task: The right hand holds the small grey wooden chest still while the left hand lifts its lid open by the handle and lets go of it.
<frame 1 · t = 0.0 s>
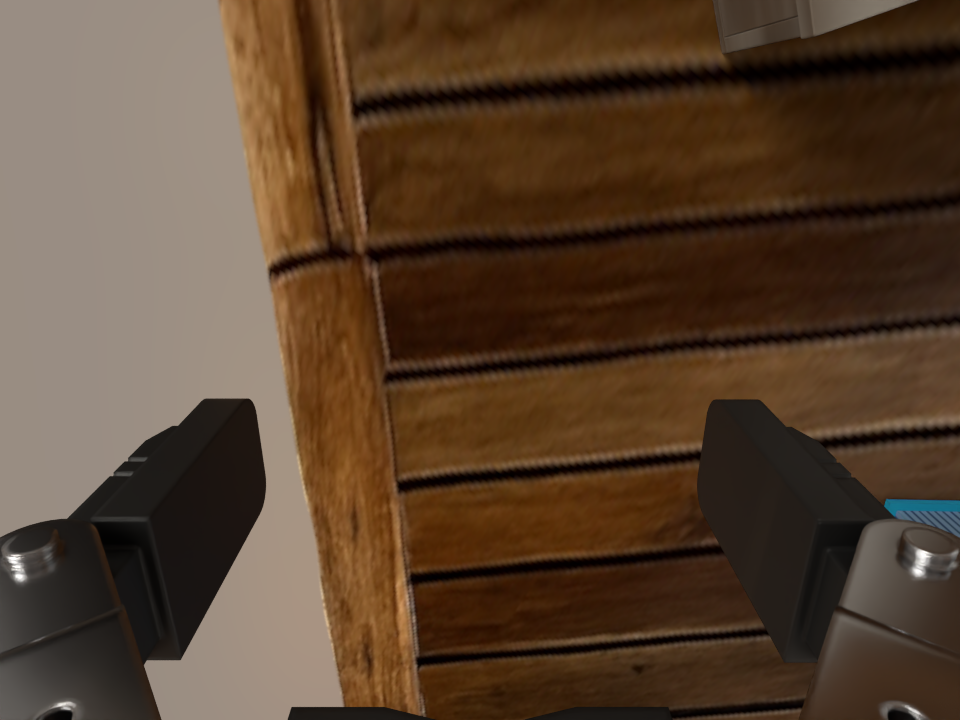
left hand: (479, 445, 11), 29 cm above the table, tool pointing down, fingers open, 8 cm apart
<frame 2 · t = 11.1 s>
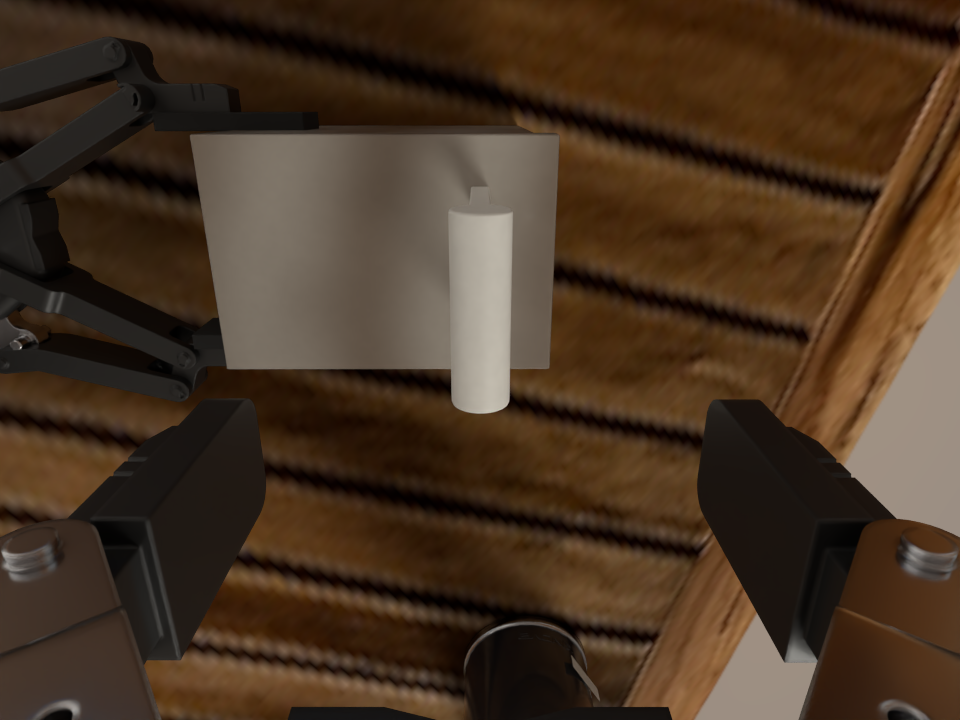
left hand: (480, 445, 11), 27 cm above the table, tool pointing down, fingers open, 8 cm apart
right hand: (321, 233, 31), fingers closed on chest, 9 cm apart
chest: (404, 212, 37), on the table, touching right hand
lid: (368, 280, 22), point 16 cm above the table, hinge at 0.0°
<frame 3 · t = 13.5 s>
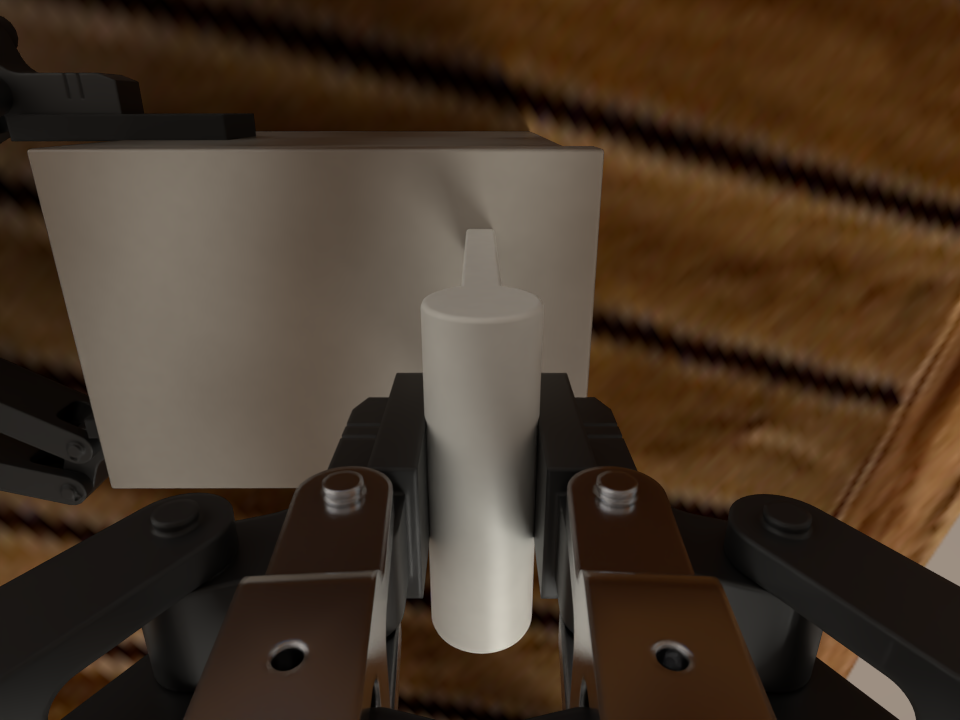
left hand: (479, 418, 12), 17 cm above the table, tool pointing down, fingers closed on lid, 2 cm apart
chest: (382, 244, 28), on the table, touching right hand
lid: (300, 387, 14), point 16 cm above the table, hinge at -0.1°, touching left hand
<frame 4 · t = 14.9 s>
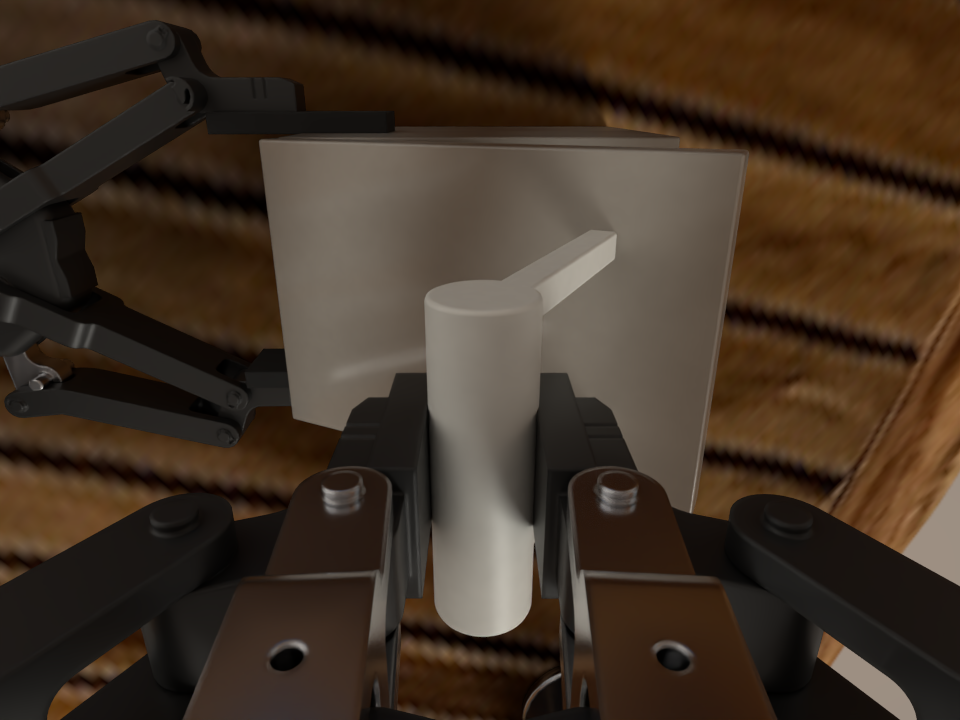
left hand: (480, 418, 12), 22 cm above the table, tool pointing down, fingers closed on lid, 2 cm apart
right hand: (397, 253, 26), fingers closed on chest, 9 cm apart
chest: (475, 225, 32), on the table, touching right hand
lid: (399, 357, 15), point 18 cm above the table, hinge at 27.1°, touching left hand
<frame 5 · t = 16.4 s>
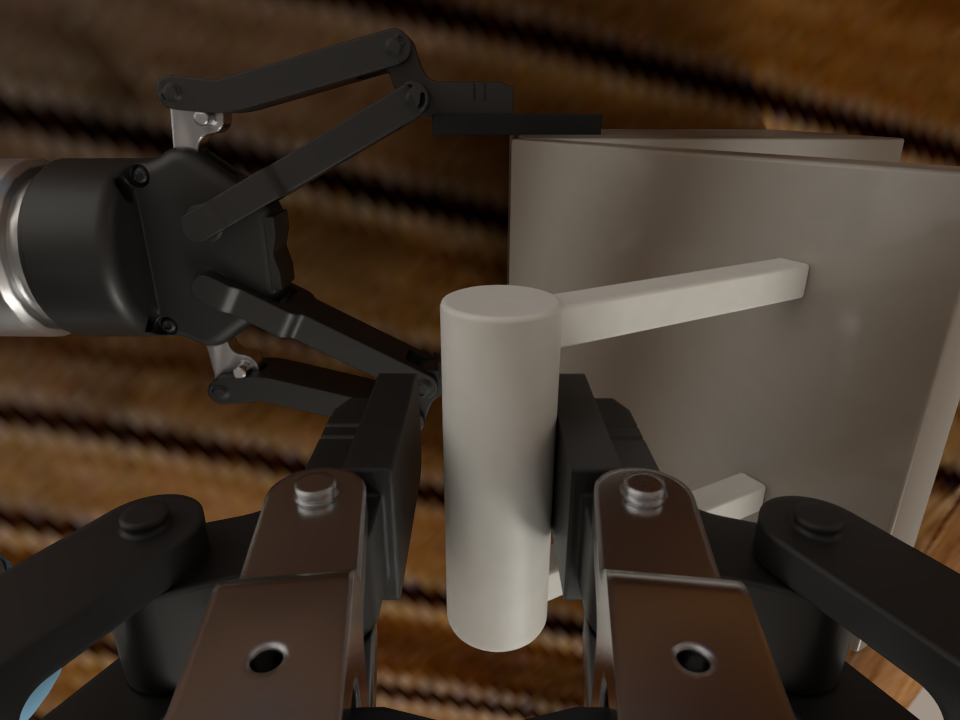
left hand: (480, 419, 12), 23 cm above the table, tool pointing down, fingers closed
right hand: (587, 249, 27), fingers closed on chest, 9 cm apart
chest: (630, 224, 33), on the table, touching right hand
lid: (541, 359, 15), point 20 cm above the table, hinge at 60.9°, touching left hand
when the right hand's fingers open (6 cm above the table, at t = 20.9 s): chest stays where it is, on the table.
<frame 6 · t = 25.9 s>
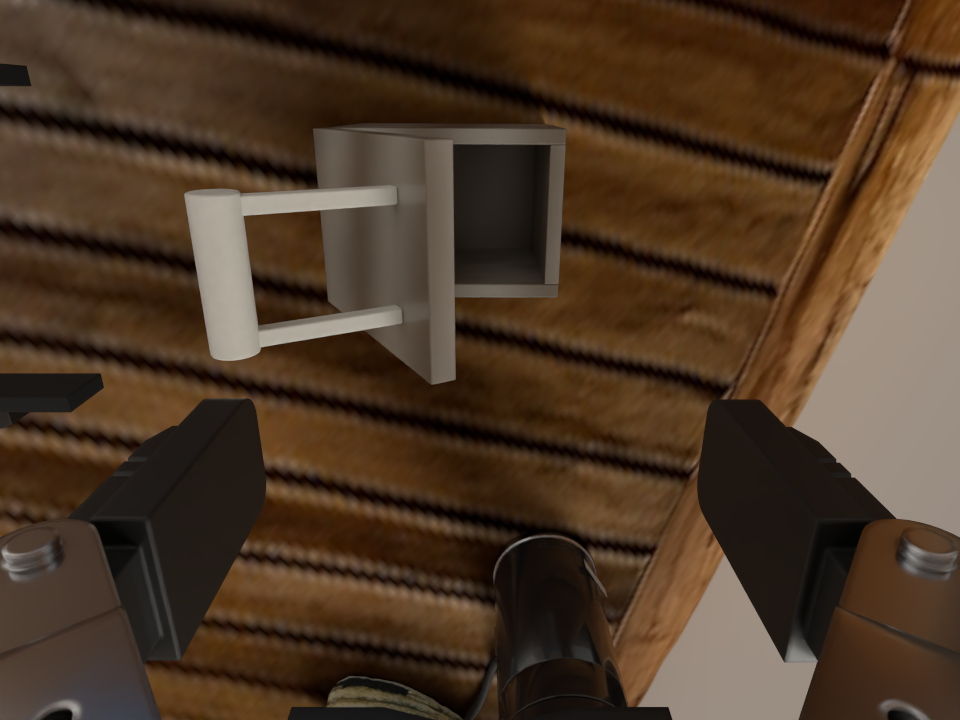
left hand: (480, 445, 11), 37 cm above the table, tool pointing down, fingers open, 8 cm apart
chest: (454, 192, 46), on the table
lid: (293, 247, 28), point 20 cm above the table, hinge at 60.2°
fossil: (413, 715, 66), on the table
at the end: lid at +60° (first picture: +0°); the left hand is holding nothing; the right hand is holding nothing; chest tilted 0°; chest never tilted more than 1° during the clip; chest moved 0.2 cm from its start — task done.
